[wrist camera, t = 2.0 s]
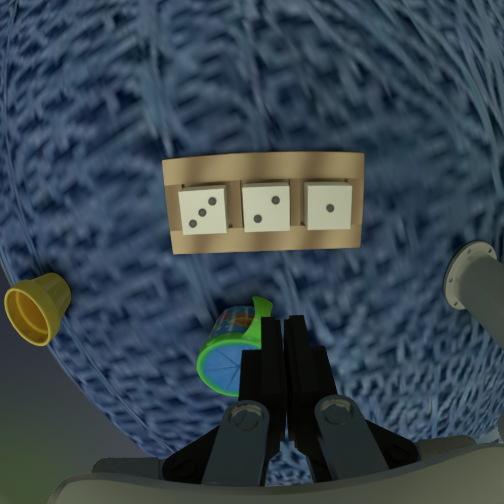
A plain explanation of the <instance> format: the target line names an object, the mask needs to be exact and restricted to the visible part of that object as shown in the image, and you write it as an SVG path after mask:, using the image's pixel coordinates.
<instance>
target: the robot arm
mask: <svg viewBox="0 0 504 504" xmlns="http://www.w3.org/2000/svg"><path fill="white" fill-rule="evenodd" d="M443 291H444V296H445V298H446V300H447V302H448V303H449V304H450V305H451V306H452V307H453V308H456V309H467V310H468V311H469V312H470V313H471V314H472V315H473V316H474V318H475V319H476V320H477V321H478V322H479V323H480V324H481V325H482V326H483V327H484V328H485V330H486V331H487V332H488V333H489V334H490V335H491V336H492V337H493V339H494V340H495V341H496V342H497V343H498V344H499V346H500V347H501V348H502V349H503V350H504V265H503V264H501V263H500V262H498V261H497V256H496V253H495V250H494V249H493V247H492V246H491V245H490V244H488V243H486V242H484V241H473V242H471V243H469V244H467V245H465V246H464V247H463V248H462V249H461V250H460V251H459V252H458V253H457V254H456V255H455V257H454V258H453V259H452V261H451V263H450V265H449V267H448V269H447V271H446V274H445V278H444V284H443ZM286 412H287V424H288V437H289V441H294V443H295V448H297V449H298V451H300V452H301V453H303V454H304V455H306V461H307V464H308V468H309V471H310V474H311V477H312V480H313V484H303V485H291V486H272V487H265V486H266V481H267V475H268V470H269V464H270V459H271V458H272V457H274V456H275V455H276V454H277V453H278V452H279V451H280V441H284V440H285V426H286ZM498 432H499V435H500V437H501V439H502V441H503V443H504V409H503V411H502V413H501V414H500V417H499V420H498ZM47 504H504V444H502V443H481V444H476V442H475V440H474V439H473V438H472V437H470V436H467V435H458V436H451V437H442V438H433V439H422V440H418V442H411V441H410V440H408V439H406V438H404V437H402V436H399V435H397V434H395V433H393V432H391V431H389V430H387V429H385V428H382V427H380V426H378V425H376V424H374V423H372V422H370V421H368V420H366V419H364V417H363V415H362V413H361V411H360V409H359V407H358V405H357V404H356V403H355V401H353V400H352V399H351V398H349V397H346V396H344V395H338V393H337V389H336V386H335V382H334V378H333V374H332V371H331V367H330V363H329V359H328V356H327V352H326V349H325V347H324V346H315V347H311V346H310V341H309V337H308V333H307V328H306V324H305V319H304V315H292V316H289V319H284V352H283V343H282V333H281V324H280V320H275V317H274V316H268V317H261V349H252V350H242V354H241V368H240V382H239V397H238V402H235V403H233V404H231V405H230V406H229V407H228V408H227V409H226V410H225V412H224V414H223V417H222V420H221V424H220V425H219V426H217V427H216V428H214V429H213V430H211V431H210V432H208V433H207V434H205V435H204V436H202V437H200V438H199V439H197V440H196V441H194V442H192V443H191V444H189V445H188V446H186V447H184V448H183V449H181V450H179V451H178V452H176V453H174V454H172V455H171V456H170V457H168V458H167V459H158V457H144V458H113V457H112V458H111V457H108V458H102V459H100V460H98V461H97V462H96V463H95V464H94V465H93V468H92V472H91V473H86V474H79V475H74V476H71V477H68V478H66V479H64V480H63V481H62V482H61V483H60V484H59V485H58V486H57V487H56V489H55V490H54V492H53V493H52V495H51V497H50V499H49V500H48V503H47Z"/></svg>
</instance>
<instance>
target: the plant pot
mask: <svg viewBox="0 0 504 504" xmlns="http://www.w3.org/2000/svg"><path fill="white" fill-rule="evenodd" d="M70 301H71V291H70V288H69V286H68V284H67V283H66V281H65V280H64V279H63V278H62V277H61V276H59V275H58V274H55V273H47V274H45V275H43V276H40V277H38V278H35V279H33V280H22V281H20V282H18V283H17V284H15V285H14V286H13V287H11V288H10V289H9V290H8V291H7V293H6V295H5V309H6V312H7V315H8V317H9V320H10V321H11V323H12V325H13V326H14V328H15V329H16V330H17V331H18V333H19V334H20V335H21V336H22V337H23V338H25V339H26V340H27V341H28V342H30V343H32V344H34V345H37V346H44V345H46V344H48V343H49V342H50V341H51V340H52V339H53V337H54V336H55V335H56V333H57V332H58V330H59V328H60V320H61V318H62V316H63V315H64V313H65V311H66V309H67V307H68V305H69V304H70Z"/></svg>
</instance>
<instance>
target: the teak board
mask: <svg viewBox="0 0 504 504" xmlns="http://www.w3.org/2000/svg"><path fill="white" fill-rule="evenodd" d="M162 164H163V174H164V184H165V193H166V202H167V210H168V218H169V226H170V233H171V240H172V247H173V254H192V253H219V252H246V251H274V250H301V249H329V248H357V247H360V240H361V227H362V212H363V191H364V153H360V152H334V151H277V152H249V153H230V154H216V155H203V156H192V157H182V158H172V159H166V160H162ZM278 182H287V183H288V185H289V197H290V231H265V232H245V228H244V211H243V193H242V187H243V184H250V183H278ZM304 182H346V183H348V184H350V185H352V203H351V224H350V229H330V230H307V228H306V226H305V224H304ZM213 185H226V191H227V206H228V220H229V227H228V231H227V233H216V234H194V235H183V228H182V220H181V212H180V203H179V193H178V192H179V191H180V190H182V189H183V188H186V187H199V186H213Z"/></svg>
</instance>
